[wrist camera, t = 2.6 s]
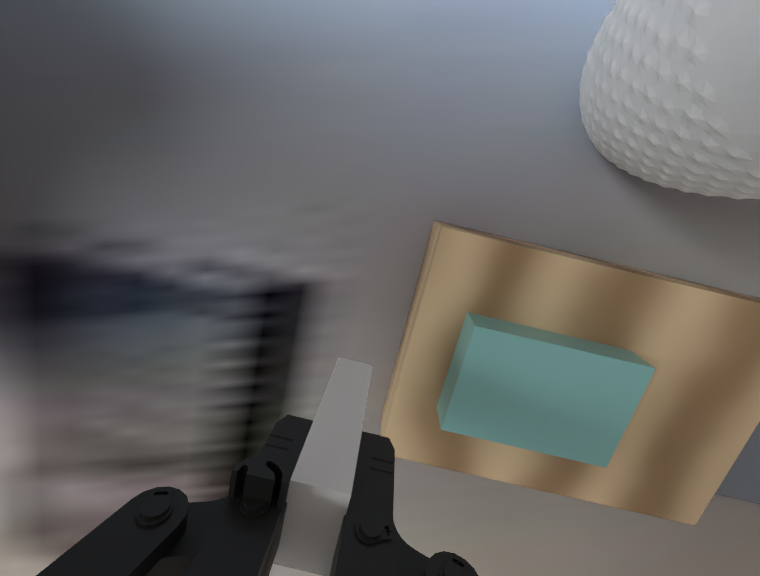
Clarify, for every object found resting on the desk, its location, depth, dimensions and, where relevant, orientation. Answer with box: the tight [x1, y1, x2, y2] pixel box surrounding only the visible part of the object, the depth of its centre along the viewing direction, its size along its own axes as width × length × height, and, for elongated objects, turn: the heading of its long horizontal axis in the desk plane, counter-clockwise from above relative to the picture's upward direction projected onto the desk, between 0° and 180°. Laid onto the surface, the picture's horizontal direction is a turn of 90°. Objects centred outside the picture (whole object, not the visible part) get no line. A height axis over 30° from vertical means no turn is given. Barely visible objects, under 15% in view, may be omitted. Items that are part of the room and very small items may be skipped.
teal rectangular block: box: [437, 312, 656, 468], centre depth 19 cm, size 9×6×2 cm, turn 77°
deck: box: [380, 221, 760, 526], centre depth 22 cm, size 20×14×4 cm
